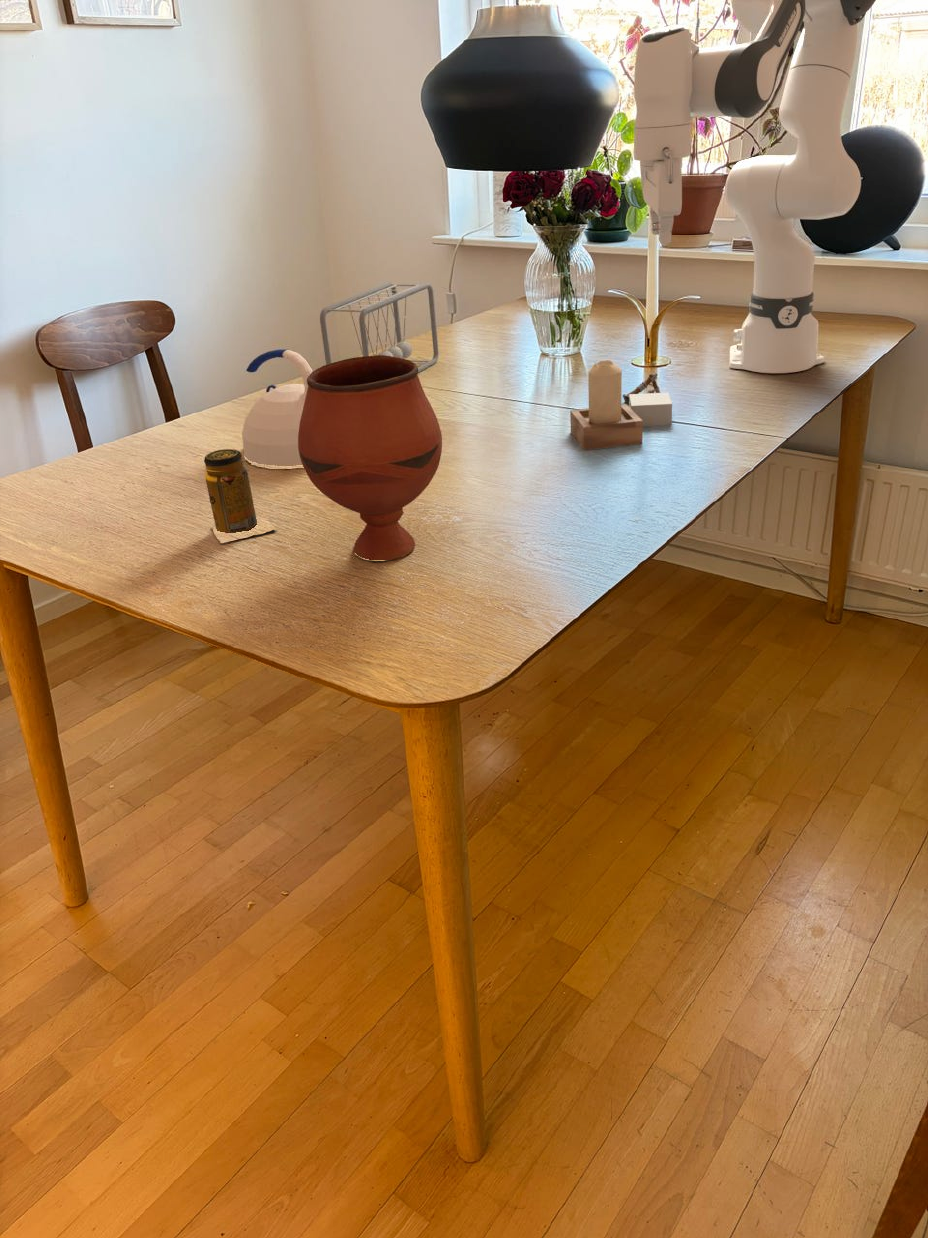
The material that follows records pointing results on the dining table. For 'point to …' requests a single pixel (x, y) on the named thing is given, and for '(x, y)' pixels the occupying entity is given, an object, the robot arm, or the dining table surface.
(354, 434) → the goblet
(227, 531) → the condiment
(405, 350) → the newton's cradle
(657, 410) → the grey block
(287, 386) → the kettle
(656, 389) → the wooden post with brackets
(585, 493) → the dining table surface
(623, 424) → the square wooden tray
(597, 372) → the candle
